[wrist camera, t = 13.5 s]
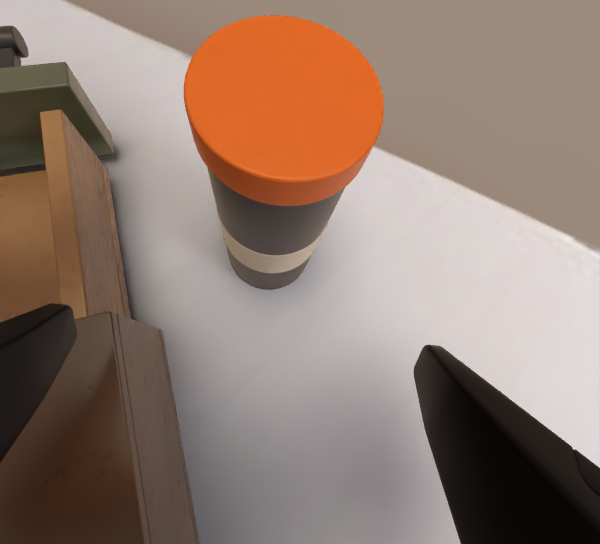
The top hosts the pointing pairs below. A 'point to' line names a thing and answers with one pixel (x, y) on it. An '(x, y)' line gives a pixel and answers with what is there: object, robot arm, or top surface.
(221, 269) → the top surface
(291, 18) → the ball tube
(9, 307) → the drawer
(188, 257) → the top surface
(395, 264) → the top surface
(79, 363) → the cabinet
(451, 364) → the robot arm
